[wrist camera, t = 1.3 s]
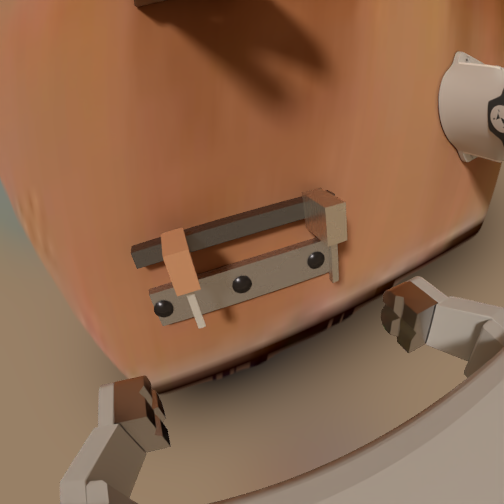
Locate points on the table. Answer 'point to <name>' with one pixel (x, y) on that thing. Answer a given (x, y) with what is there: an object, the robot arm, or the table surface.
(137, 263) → the rail
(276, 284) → the hole strip
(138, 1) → the brown angular bracket
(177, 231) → the block
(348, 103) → the table surface
